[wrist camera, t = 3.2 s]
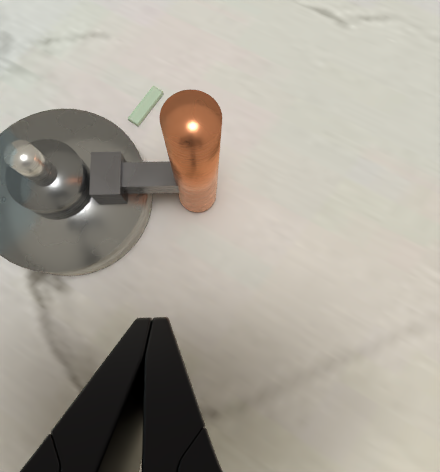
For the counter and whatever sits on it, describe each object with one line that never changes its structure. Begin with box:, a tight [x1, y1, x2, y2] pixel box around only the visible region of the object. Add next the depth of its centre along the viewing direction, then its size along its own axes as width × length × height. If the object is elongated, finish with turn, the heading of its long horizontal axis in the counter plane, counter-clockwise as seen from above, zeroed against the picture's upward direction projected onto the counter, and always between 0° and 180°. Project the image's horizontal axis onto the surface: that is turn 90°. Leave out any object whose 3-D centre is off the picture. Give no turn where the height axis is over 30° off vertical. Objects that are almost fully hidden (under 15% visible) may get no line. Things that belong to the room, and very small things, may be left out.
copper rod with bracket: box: [89, 90, 222, 212], centre depth 18 cm, size 7×2×10 cm, turn 92°
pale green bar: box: [128, 86, 163, 126], centre depth 24 cm, size 3×1×1 cm, turn 147°
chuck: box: [0, 109, 152, 276], centre depth 20 cm, size 10×10×7 cm
